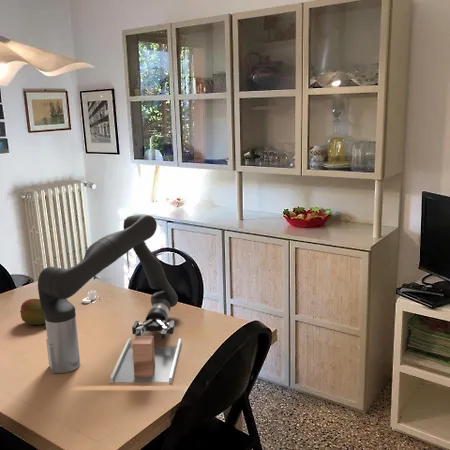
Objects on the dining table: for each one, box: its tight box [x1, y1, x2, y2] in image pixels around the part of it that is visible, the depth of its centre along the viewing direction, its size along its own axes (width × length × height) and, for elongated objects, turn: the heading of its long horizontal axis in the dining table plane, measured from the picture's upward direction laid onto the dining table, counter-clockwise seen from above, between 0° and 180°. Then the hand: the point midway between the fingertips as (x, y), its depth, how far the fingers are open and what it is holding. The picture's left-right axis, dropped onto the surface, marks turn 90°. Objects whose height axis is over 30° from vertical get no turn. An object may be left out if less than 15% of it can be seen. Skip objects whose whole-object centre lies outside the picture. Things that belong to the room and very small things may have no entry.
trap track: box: [109, 338, 182, 384], centre depth 163 cm, size 26×19×2 cm
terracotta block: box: [131, 335, 155, 377], centre depth 155 cm, size 6×6×11 cm
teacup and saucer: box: [81, 290, 98, 304], centre depth 218 cm, size 9×8×4 cm
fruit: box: [19, 298, 46, 326], centre depth 194 cm, size 12×13×10 cm
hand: (150, 336), depth 166 cm, fingers open, 8 cm apart
